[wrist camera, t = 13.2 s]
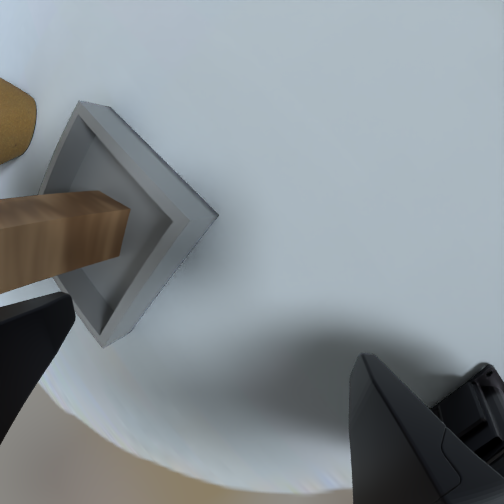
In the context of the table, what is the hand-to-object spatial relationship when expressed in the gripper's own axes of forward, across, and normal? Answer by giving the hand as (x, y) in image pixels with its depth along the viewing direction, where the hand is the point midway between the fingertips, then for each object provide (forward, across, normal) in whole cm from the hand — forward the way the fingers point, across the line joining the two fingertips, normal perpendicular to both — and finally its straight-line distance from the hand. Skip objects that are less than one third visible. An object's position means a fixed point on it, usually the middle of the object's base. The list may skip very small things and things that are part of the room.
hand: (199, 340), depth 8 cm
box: (+14, +12, +2) cm, 18 cm away
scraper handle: (+13, +12, +2) cm, 18 cm away
